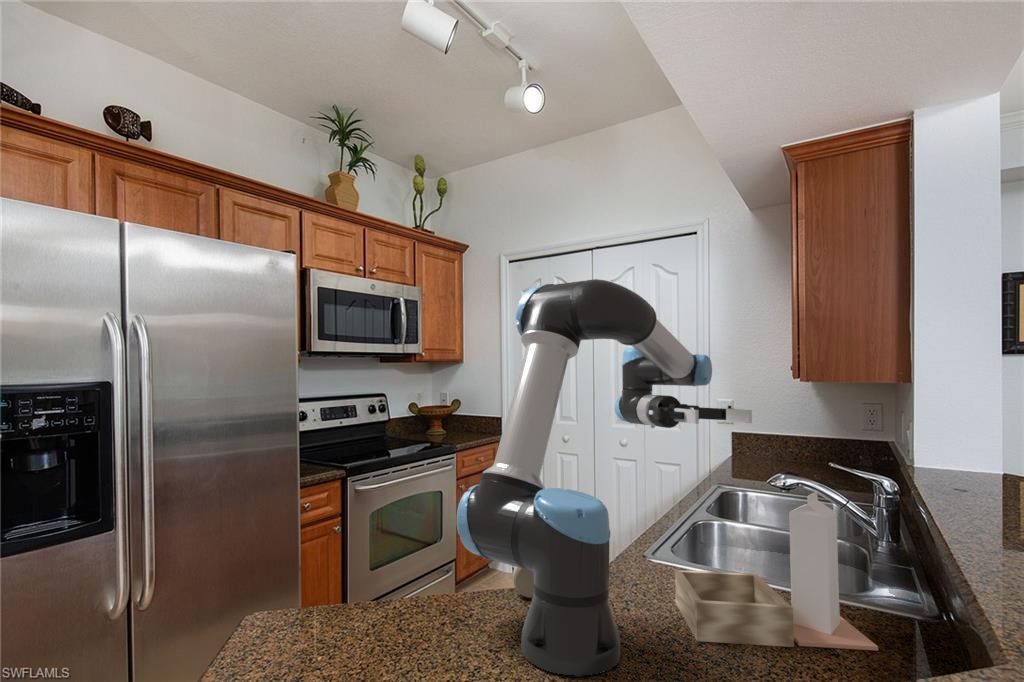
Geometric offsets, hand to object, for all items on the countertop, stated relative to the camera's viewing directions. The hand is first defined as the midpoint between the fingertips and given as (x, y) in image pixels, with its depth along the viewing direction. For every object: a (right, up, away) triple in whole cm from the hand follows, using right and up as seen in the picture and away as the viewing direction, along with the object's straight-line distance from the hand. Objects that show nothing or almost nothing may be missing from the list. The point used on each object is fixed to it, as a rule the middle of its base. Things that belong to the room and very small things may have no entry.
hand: (724, 416), depth 105 cm
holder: (-5, -34, -15) cm, 37 cm away
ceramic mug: (-38, -34, -3) cm, 51 cm away
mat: (+9, -34, -16) cm, 39 cm away
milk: (+9, -34, -16) cm, 38 cm away
